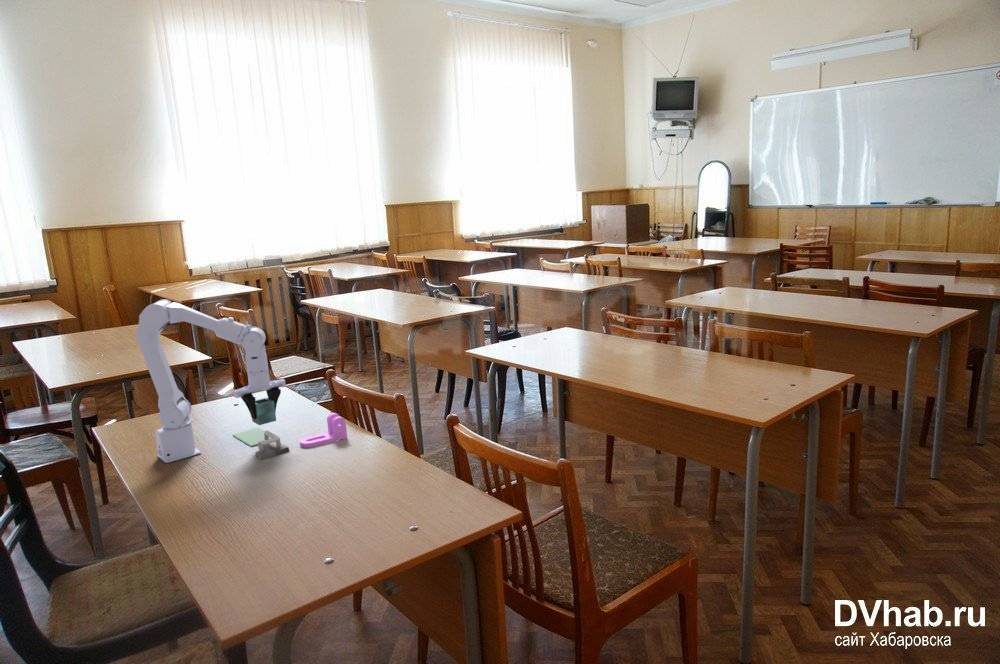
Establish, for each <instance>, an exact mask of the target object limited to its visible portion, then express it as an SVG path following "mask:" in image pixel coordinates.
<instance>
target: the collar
mask: <svg viewBox="0 0 1000 664" xmlns="http://www.w3.org/2000/svg"><path fill="white" fill-rule="evenodd" d="M255 409H256V415H257V419H253V418H252V417H251V421H252V422H253V423H254V424H256V425H258V426H261V425H262V426H263V425H265V424H269V423H273V422H277V416H276V415H277V414H276V413H275V406H274V401H273V400H271V399H269V398H268V397H264V398H260V399H255Z"/></svg>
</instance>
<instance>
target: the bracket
mask: <svg viewBox="0 0 1000 664" xmlns="http://www.w3.org/2000/svg"><path fill="white" fill-rule="evenodd" d="M326 418H327V419H326V421H327V431H326V432H325V433H319V434H316V435H310V436H306V437H303V438H301V439H300V440H299V447H301V448H305V449H307V448H314V447H318V446H322V445H326V444H330V443H334V441H335V442H339V441H342V440H341V439H343V440H345V439H344V438H347V439H348V432H347V422H346V419H345V418H344V417H342V416H340V414H338V413H336V412H332V413H330V414H328V416H327V417H326ZM338 440H339V441H338Z"/></svg>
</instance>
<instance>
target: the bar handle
mask: <svg viewBox="0 0 1000 664" xmlns="http://www.w3.org/2000/svg"><path fill="white" fill-rule="evenodd" d="M269 437H271V438H269ZM264 438H265V440H262V441H258V443H259V444H258V445H257V446H258V450H257V451H255V457H257V458H259V459H260V460H265V459H268V458H271V457H275V456H278V455H281V454H284V453H287V452H290V447H289V446H287V445H286V444H283V443H282V442H281V438H280V436H279V435H276V434H275V433H272V432H271V431H269V430H267V429H265V430H264Z"/></svg>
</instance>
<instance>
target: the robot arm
mask: <svg viewBox="0 0 1000 664" xmlns="http://www.w3.org/2000/svg"><path fill="white" fill-rule="evenodd" d="M182 322H185V323H189V324H192V325H195V326H198V327H201V328H203V329H206V330H209V331H213V333H214V334H215V336H216V338H220V339H221V340H222V339H223V340H226V341H228V342H231V343H234V344H237V345H241V347H242V348H243V349H244V353H245V356H244V358H245V365H246V373H247V380H248V385H246V386H243V387H241V388H237V389H233V391H232V392H233V397H234V398H236V399H239V398H240V399H242V401H243V402H244V404H245V406H246V407H247V409H248V411H249V415H250V417H251V419H252V418H253V419H257V415H256V409H255V400H256V397H255V396H254V394H257V393H262V392H266V396H267V398H269V399H271V400H273V401H274V406H275V414H276V410H277V405H278V401H279V397H280V395H281V393H282V391H281V388H286V387H287V385H286V380H285V379H283V378H280V379H276V380H270V372H269V362H268V354H267V352H266V351H267V350H266V345H265V342H266V338H267V336H266V333H265V331H264V330H263V329H262V328H260V327H258V326H251V324H244V323H241V322H238V321H236V320H235V318H233V317H231V316H229V317H228V318H227V317H222V318H219V319H217V318H215V317H213V316H210V315H207V314H205V313H203V312H201V311H198V310H197V309H193V308H192V307H189V306H186V305H183V304H182V303H179V302H174V301H173V302H172V301H171V300H169V299H164V298H163V299H159V300H157V301H155V302H154V303H152V304H149V305H147V306H146V307H145V308H144V309H143V310H142V311H141V312H140V314H139V316H138V324H137V325H138V326H137V329H136V334H135V338H136V340H137V343H138V344H137V345H138V346H139V349H140V351H141V354H142V356H143V359H144V362H145V365H146V367H147V370H148V373H149V374H150V377H151V379H152V382H153V385H154V387H155V389H156V390H155V391H156V394H157V395H158V399H157V400H158V401H157V406H158V409H159V415H158V419H159V422H160V424H161V425H162V427H161V428H159V429H156V430H155V431H154V437H155V438H154V439H155V444H156V450H157V451H156V452H157V457H158V458H159V459H160V460H161V461H162V462H164V463H165V464H168V463H172V462H174V461H178V460H183V459H186V458H189V457H193V456H196V455H200V454H202V453H201V452H202V451H200V450H199V449H198V448H197V447H196V443H195V437H194V430H193V424H192V419H191V418H190V414H191V412H192V405H191V402H189V400H188V399H186V398H185V396H184V393H183V392H182V391H181V390H180V388H178V385H177V383H176V381H175V378H174V375H173V372H172V369H171V367H170V364H169V361H168V359H167V356H166V353H165V351H164V347H163V345H162V343H161V340H160V335H161V333H162V332H163V330H164V328H165V326H167V325H168V324H176V323H182Z"/></svg>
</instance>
